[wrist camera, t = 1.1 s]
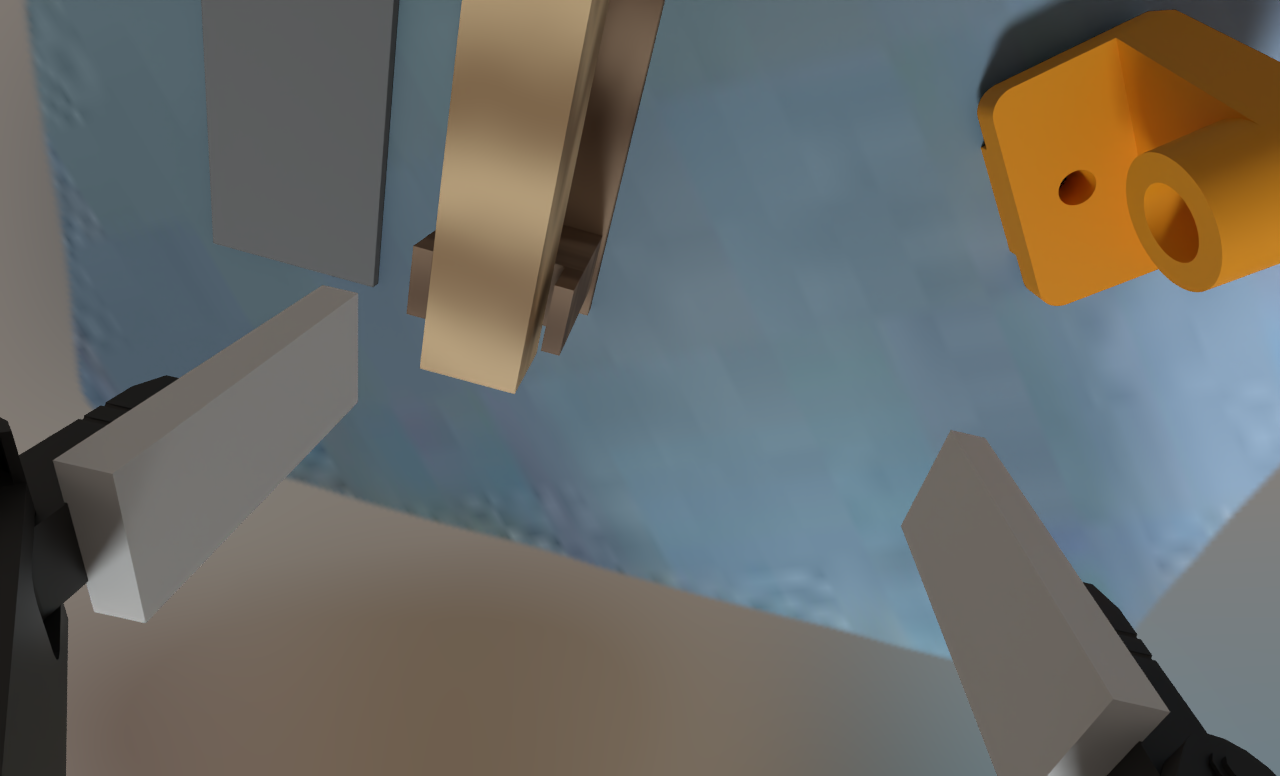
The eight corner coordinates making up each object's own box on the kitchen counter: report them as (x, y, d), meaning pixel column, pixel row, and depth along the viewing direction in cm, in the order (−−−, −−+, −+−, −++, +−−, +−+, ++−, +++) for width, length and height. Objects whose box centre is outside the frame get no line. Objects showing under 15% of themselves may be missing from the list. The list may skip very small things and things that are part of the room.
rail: (539, -301, 21) (504, -373, 17) (663, -262, 21) (655, -324, 17) (452, 330, 31) (420, 368, 27) (536, 353, 31) (514, 394, 27)
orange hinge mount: (965, 95, 31) (1102, 123, 20) (1136, 12, 29) (1388, -5, 18) (1021, 294, 35) (1160, 404, 24) (1174, 233, 33) (1399, 325, 22)
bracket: (541, -234, 27) (466, -359, 18) (708, -181, 27) (710, -281, 19) (468, 275, 37) (399, 343, 29) (590, 308, 37) (556, 386, 29)
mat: (191, -415, 25) (180, -425, 25) (424, -341, 25) (418, -348, 25) (220, 240, 37) (213, 243, 37) (377, 283, 38) (373, 287, 37)
